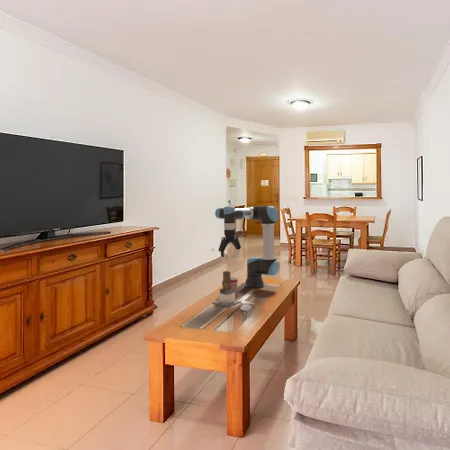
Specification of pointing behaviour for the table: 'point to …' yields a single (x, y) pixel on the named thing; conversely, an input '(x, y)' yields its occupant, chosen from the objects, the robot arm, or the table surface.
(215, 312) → the table surface
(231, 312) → the table surface
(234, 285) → the mug
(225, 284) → the wood plank
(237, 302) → the square plate with disc
